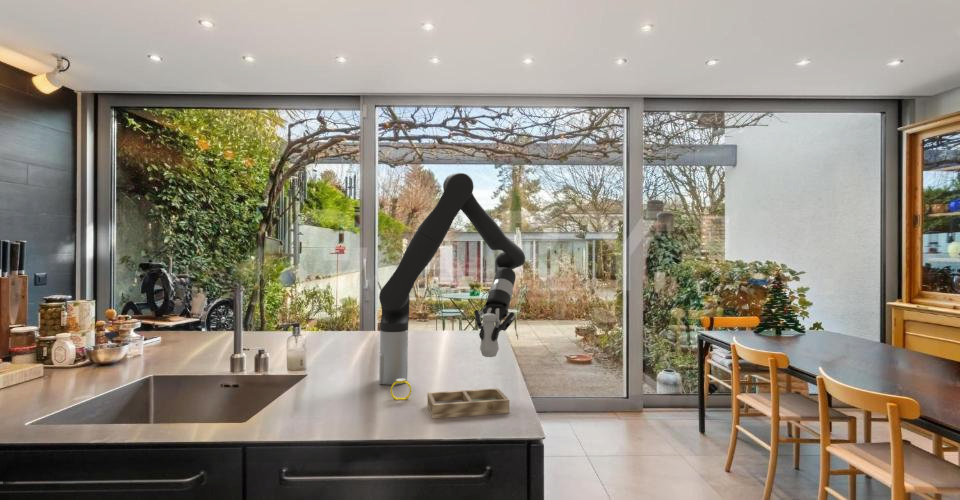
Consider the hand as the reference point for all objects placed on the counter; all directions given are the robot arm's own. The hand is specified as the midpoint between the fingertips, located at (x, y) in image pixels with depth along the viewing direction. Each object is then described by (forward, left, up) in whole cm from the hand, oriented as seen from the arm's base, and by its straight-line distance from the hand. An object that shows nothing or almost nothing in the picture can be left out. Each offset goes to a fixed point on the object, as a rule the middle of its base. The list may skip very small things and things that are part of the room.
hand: (487, 339), depth 143 cm
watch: (-26, +1, -17) cm, 31 cm away
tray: (-8, -11, -17) cm, 22 cm away
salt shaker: (+1, +2, -6) cm, 6 cm away
